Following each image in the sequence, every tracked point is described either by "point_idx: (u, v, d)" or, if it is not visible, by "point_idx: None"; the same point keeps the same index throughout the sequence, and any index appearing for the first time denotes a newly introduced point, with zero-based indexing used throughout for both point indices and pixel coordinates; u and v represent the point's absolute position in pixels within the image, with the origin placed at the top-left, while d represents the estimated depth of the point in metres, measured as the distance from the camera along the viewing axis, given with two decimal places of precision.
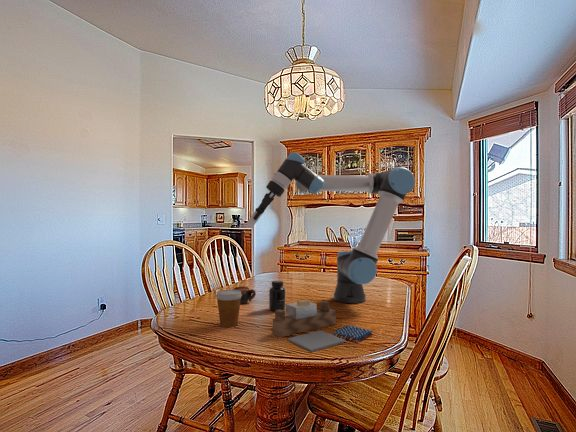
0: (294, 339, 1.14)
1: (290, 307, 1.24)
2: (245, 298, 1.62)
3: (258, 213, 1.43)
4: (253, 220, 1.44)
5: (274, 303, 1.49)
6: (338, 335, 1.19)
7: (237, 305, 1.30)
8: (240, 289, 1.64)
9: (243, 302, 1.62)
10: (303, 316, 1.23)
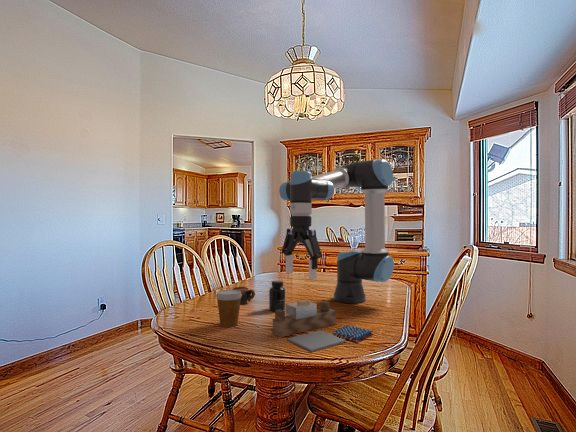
0: (294, 339, 1.14)
1: (290, 307, 1.24)
2: (244, 298, 1.62)
3: (315, 260, 1.19)
4: (313, 270, 1.20)
5: (274, 303, 1.49)
6: (338, 335, 1.19)
7: (237, 305, 1.30)
8: (239, 289, 1.64)
9: (242, 302, 1.61)
10: (303, 316, 1.23)
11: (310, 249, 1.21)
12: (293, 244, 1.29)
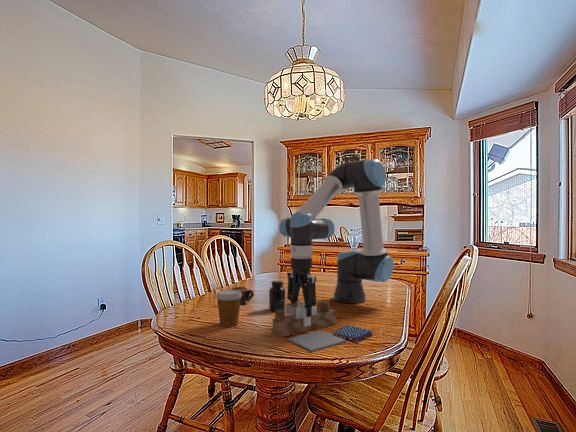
0: (294, 339, 1.14)
1: (290, 307, 1.24)
2: (243, 298, 1.61)
3: (310, 308, 1.22)
4: (307, 317, 1.23)
5: (274, 303, 1.49)
6: (338, 335, 1.19)
7: (237, 305, 1.30)
8: (238, 289, 1.63)
9: (241, 303, 1.61)
10: None
11: (307, 296, 1.22)
12: (296, 288, 1.28)
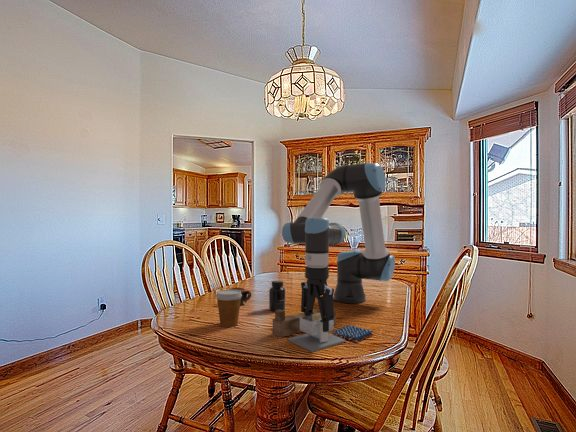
0: (294, 339, 1.14)
1: (305, 321, 1.12)
2: None
3: (327, 322, 1.10)
4: (324, 332, 1.11)
5: (274, 303, 1.49)
6: (338, 335, 1.19)
7: (237, 305, 1.30)
8: None
9: None
10: (319, 331, 1.11)
11: (323, 309, 1.11)
12: (311, 299, 1.16)
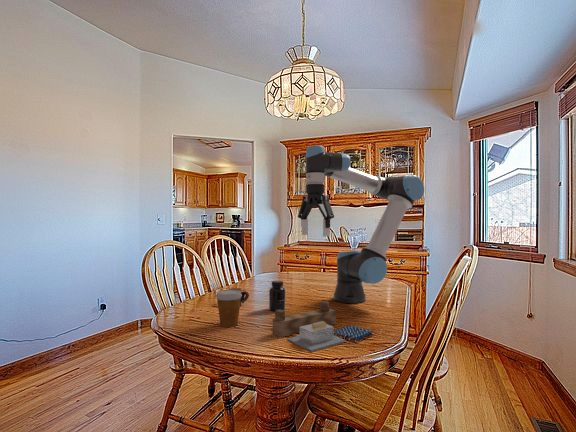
0: (294, 339, 1.14)
1: (305, 331, 1.12)
2: None
3: (328, 220, 1.41)
4: (326, 229, 1.42)
5: (274, 303, 1.49)
6: (337, 335, 1.19)
7: (237, 305, 1.30)
8: None
9: None
10: (319, 341, 1.11)
11: (324, 211, 1.42)
12: (308, 209, 1.51)
